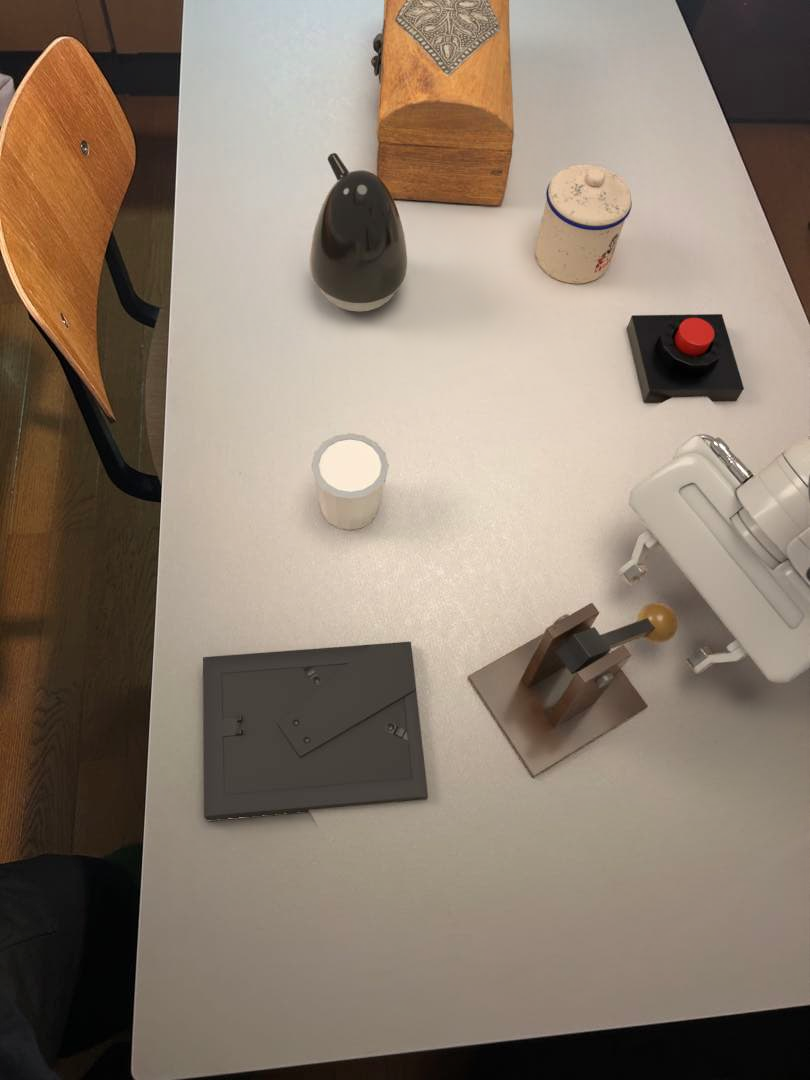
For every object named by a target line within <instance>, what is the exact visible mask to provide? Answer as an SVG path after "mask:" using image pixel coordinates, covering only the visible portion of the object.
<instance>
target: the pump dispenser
mask: <svg viewBox="0 0 810 1080" xmlns="http://www.w3.org/2000/svg"><path fill="white" fill-rule="evenodd" d="M327 162H328V164H329V166H330V168H331V170H332V172H333V174H334V177H335V179H336V182H335V183H334V184H333V185H332V186H331V188H330V190H329V191H328V193H327V195H326V197H325V199H324V201H323V203H322V205H321V207H320V210H319V213H318V216H317V219H316V222H315V225H314V229H313V233H312V239H311V244H310V254H309V268H310V274H311V277H312V280H313V281H314V282H315V284H316V285H317V287H318V288H319V291H320V292H321V293H322V295H323V296H324V297H325V298H326V300H328V301H329V302H330V303H332V304H333V305H334V306H336V307H339V308H340V309H342V310H346V311H350V312H368V311H372V310H375V309H378V308H380V307H381V306H384V305H385V304H386V303H387V302H388V301H390V300H391V299H392V298H393V296H395V294H396V292H397V291H398V290H399V288H400V287H401V285H402V284H403V283H404V280H405V278H406V276H407V270H408V251H407V245H406V238H405V232H404V227H403V224H402V220H401V217H400V213H399V210H398V207H397V204H396V202H395V201H396V200H395V198H393V197H392V195H391V193H390V191H389V190H388V188H387V187H386V185H385V184H384V183H383V181H382V180H381V179H380V178H379V177H378V176H377V174H375V173H374V172H371V171H369V170H362V169H358V170H357V169H355V170H352V171H351V170H350V171H349V170H348V168H347V167H346V166H345V164H344V162H343V161H342V159H341V158H340V156H339V154H337V153H336V152H332V153H330V154H329V155H328V157H327Z"/></svg>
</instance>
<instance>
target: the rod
mask: <svg viewBox="0 0 810 1080" xmlns="http://www.w3.org/2000/svg"><path fill="white" fill-rule="evenodd" d="M678 627H679V619H678V616H677V613H676V612H675V611H674V610H673V608H672V607H671V606H669V605H667V604H665V603H662V602H653V603H649V604H647V605H645V606H644V607H643V608H641V610H639V612H638V614H637V617H636V621H635V622H632V623H630V624H627V625H624V626H622V627H619V628H616V629H613V630H610V631H608V632H605V633H602V634H600V633H599V631H598V629H596V627H595V626H593V627H590V629H587V630H584V631H581V632H579V633H576V634H573V635H572V636H571V637H570V638H569V639H568V640H567V641H566V642H565V643H564V644H563V645H562V646H561V647H559V648H558V649H557V650H556V653H557V654H558V656H559V657H560V658H561V660H562V661H563V663H564V664H565V666H566V667H567V668H568V670H569V671H570V673H571V674H574V673H577V672H578V671H580V670H581V669H583V668H585V667H587V666H588V665H590V664H592V663H593V662H595V661H597V660H598V659H600V658H602V657H604V656H605V655H606V654H607V653H608V652H609V653H610V652H611V650H612V649H616V648H619V647H621V646H622V645H625V644H628V643H631V642H634V641H636V640H638V639H641V638H643V639H644V640H645V641H649V642H650V643H653V644H662V643H665V642H667V641H669V640H671V639H672V638H673V637H674V636H675V634H676V632H677V630H678Z"/></svg>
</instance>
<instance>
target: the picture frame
mask: <svg viewBox="0 0 810 1080" xmlns="http://www.w3.org/2000/svg"><path fill="white" fill-rule="evenodd" d="M418 703H419V702H418V693H417V685H416V675H415V666H414V658H413V648H412V642H411V641H401V642H400V641H399V642H386V643H374V644H373V643H372V644H360V645H346V646H335V647H334V646H333V647H320V648H307V649H294V650H293V649H292V650H279V651H278V650H277V651H267V652H265V651H264V652H255V653H254V652H253V653H243V654H242V653H240V654H229V655H227V654H225V655H214V656H202V721H203V725H202V726H203V727H202V730H203V731H202V732H203V733H202V734H203V735H202V737H203V817H204V818H205V820H206V821H207V820H216V821H218V820H217V819H228V818H239V817H250V818H253V817H252V816H261V817H263V816H262V815H272V816H276V815H275V814H283V815H285V814H284V813H294V814H298V813H297V812H305V813H309V812H308V811H311V810H319V809H320V810H321V809H322V810H323V809H331V808H345V807H355V806H365V805H367V806H368V805H378V804H387V803H389V804H390V803H400V802H410V801H420V800H427V799H428V797H429V794H428V793H429V791H428V784H427V775H426V766H425V756H424V748H423V747H424V746H423V740H422V730H421V721H420V711H419V704H418ZM239 819H240V818H239ZM228 820H229V819H228Z"/></svg>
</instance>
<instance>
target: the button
mask: <svg viewBox="0 0 810 1080" xmlns="http://www.w3.org/2000/svg"><path fill="white" fill-rule="evenodd" d="M713 338H714V330H713V328H712V326H711V325H710V324H709V323H708V322H706V321H704V320H702V319H699V318H688V319H686V320H684V321H683V322H682V323H681V324H680V326H679V328H678V331H677V333H676V335H675V338H674V341H675V344H676V346H677V348H678V349H679V350H680V351H681V352H683V353H686V354H688V355H691V356H698V355H702V354H704V353H705V352H706V351H707V350H708V348H709V346H710V344H711V342H712V340H713Z"/></svg>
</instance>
